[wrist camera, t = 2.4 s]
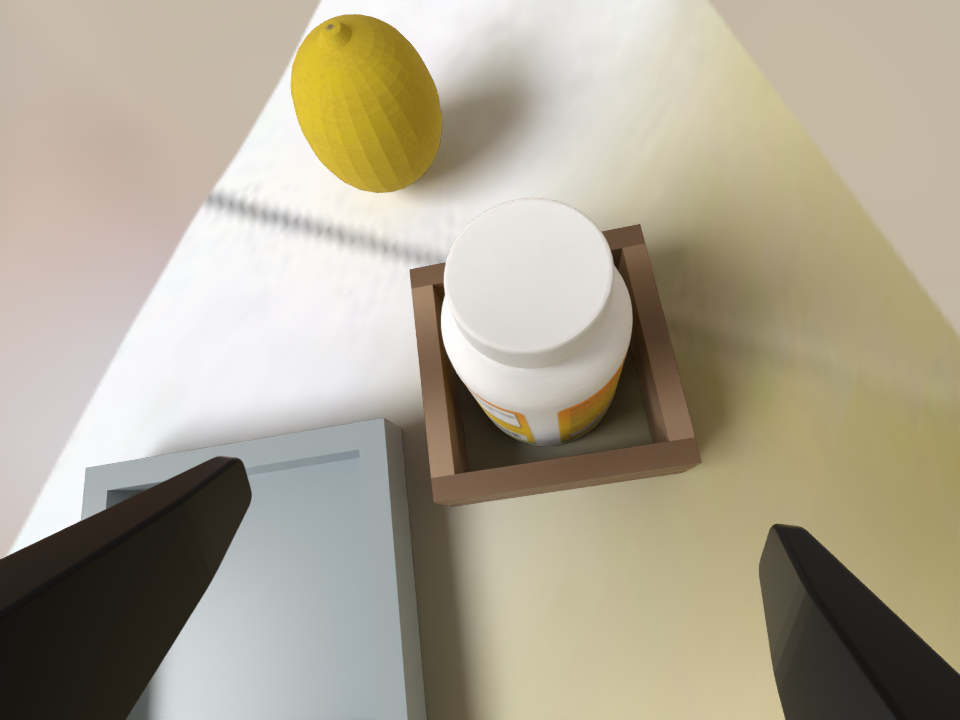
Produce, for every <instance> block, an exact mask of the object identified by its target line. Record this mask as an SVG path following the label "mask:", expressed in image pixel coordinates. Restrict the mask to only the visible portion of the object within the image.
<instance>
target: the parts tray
mask: <svg viewBox="0 0 960 720" xmlns="http://www.w3.org/2000/svg"><path fill="white" fill-rule="evenodd" d="M216 456H230V457H237V458H240V459H241V460H242V461H243V463H244V466H245V469H246V473H247V476H248V480H249V483H250V487H251V491H252V499H251V503H250V506H249V508H248V510H247V512H246V514H245V516H244V518H243V520H242V522H241V524H240V526H239V528H238V530H237V532H236V534H235V536H234V539H233V541H232V543H231V545H230V547H229V549H228V551H227V553H226V555H225V557H224V559H223V561H222V563H221V565H220V567H219V569H218V571H217V573H216V574H215V576H214V578H213V580H212V582H211V583H210V585H209V587H208V589H207V590H206V592H205V594H204V595H203V597H202V598H201V600H200V602H199V603H198V605H197V607H196V608H195V610H194V611H193V613H192V615H191V616H190V618H189V619H188V621H187V623H186V624H185V626H184V628H183V629H182V631H181V632H180V634H179V636H178V637H177V639H176V640H175V642H174V644H173V645H172V647H171V648H170V650H169V652H168V653H167V655H166V657H165V658H164V660H163V661H162V663H161V665H160V666H159V668H158V669H157V671H156V673H155V674H154V676H153V678H152V679H151V681H150V682H149V684H148V686H147V687H146V689H145V690H144V692H143V694H142V695H141V697H140V698H139V700H138V702H137V703H136V705H135V707H134V708H133V710H132V711H131V713H130V715H129V716H128V718H127V719H126V720H427V714H426V703H425V692H424V680H423V669H422V658H421V646H420V635H419V624H418V612H417V601H416V590H415V578H414V567H413V556H412V544H411V533H410V522H409V510H408V499H407V488H406V476H405V465H404V454H403V442H402V431H401V428H400V427H398V426H396V425H395V424H393V423H391V422H390V421H388V420H386V419H385V418H380V419H374V420H368V421H362V422H356V423H350V424H344V425H338V426H332V427H326V428H320V429H314V430H309V431H303V432H297V433H291V434H285V435H279V436H273V437H267V438H261V439H255V440H249V441H243V442H237V443H231V444H225V445H219V446H213V447H207V448H201V449H195V450H190V451H184V452H178V453H172V454H166V455H160V456H154V457H148V458H142V459H136V460H130V461H124V462H118V463H112V464H106V465H100V466H94V467H88V468H86V472H85V483H84V494H83V504H82V515H81V521H82V520H84V519H86V518H88V517H90V516H92V515H94V514H97V513H99V512H101V511H103V510H105V509H107V508H109V507H111V506H113V505H115V504H118V503H120V502H122V501H124V500H126V499H128V498H130V497H132V496H134V495H136V494H138V493H141V492H143V491H145V490H147V489H149V488H151V487H153V486H155V485H157V484H159V483H161V482H164V481H166V480H168V479H170V478H172V477H174V476H176V475H178V474H180V473H182V472H184V471H187V470H189V469H191V468H193V467H195V466H197V465H199V464H201V463H203V462H205V461H208V460H210V459H212V458H214V457H216Z"/></svg>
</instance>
